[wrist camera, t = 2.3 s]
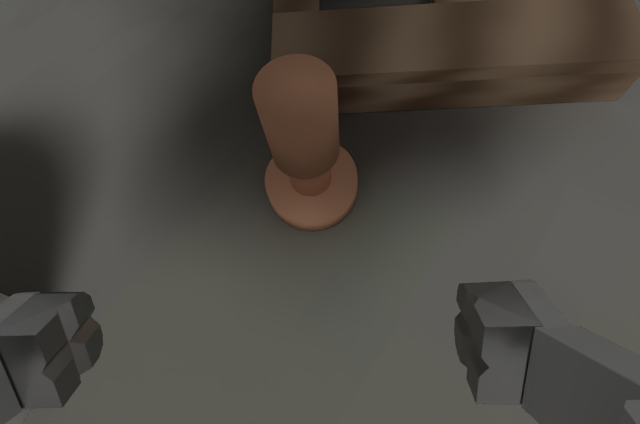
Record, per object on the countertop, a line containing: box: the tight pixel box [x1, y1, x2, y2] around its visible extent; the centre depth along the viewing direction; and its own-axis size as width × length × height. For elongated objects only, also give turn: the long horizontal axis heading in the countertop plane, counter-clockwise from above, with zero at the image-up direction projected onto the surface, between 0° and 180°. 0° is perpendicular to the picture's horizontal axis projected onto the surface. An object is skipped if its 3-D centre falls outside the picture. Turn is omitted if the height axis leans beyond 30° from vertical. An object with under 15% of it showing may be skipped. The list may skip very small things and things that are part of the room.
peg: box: [252, 54, 358, 231], centre depth 20 cm, size 5×5×9 cm
